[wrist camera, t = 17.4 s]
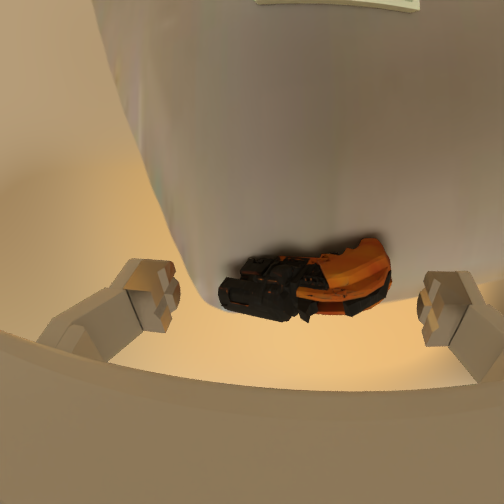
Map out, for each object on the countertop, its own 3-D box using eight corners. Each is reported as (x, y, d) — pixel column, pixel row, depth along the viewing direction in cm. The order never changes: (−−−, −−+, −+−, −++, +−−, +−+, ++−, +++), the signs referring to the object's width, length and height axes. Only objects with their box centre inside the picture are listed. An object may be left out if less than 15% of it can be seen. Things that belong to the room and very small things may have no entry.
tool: (258, 224, 54) (204, 283, 44) (397, 226, 40) (370, 305, 31) (272, 263, 58) (226, 323, 48) (400, 272, 44) (375, 353, 35)
